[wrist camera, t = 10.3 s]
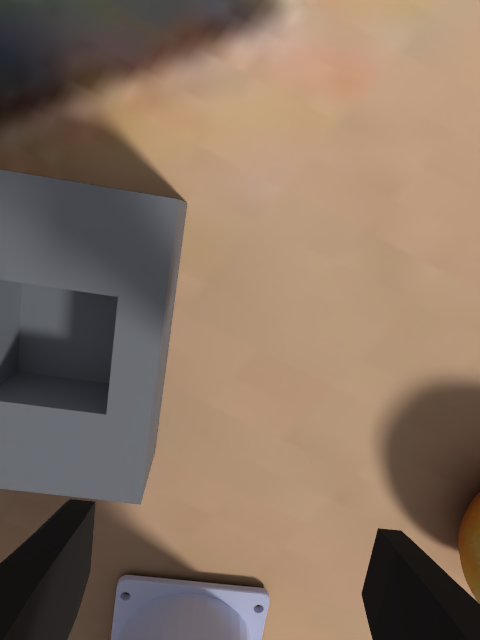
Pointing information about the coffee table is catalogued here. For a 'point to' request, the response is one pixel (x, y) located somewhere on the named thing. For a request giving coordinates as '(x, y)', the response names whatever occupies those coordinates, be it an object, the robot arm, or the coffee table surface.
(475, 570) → the fruit
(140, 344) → the hole board
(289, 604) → the coffee table surface
